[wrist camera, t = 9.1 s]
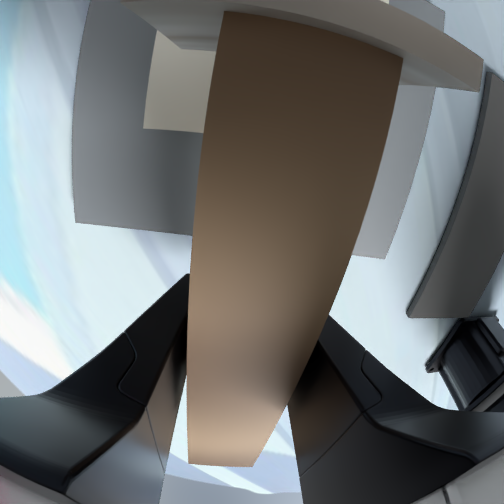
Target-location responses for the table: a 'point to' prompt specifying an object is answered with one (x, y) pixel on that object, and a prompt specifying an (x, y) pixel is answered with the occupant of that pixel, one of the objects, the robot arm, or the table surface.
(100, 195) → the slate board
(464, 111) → the table surface
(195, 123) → the tile
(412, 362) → the table surface
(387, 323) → the table surface
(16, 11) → the table surface
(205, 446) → the light brown wooden bar
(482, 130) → the rest
